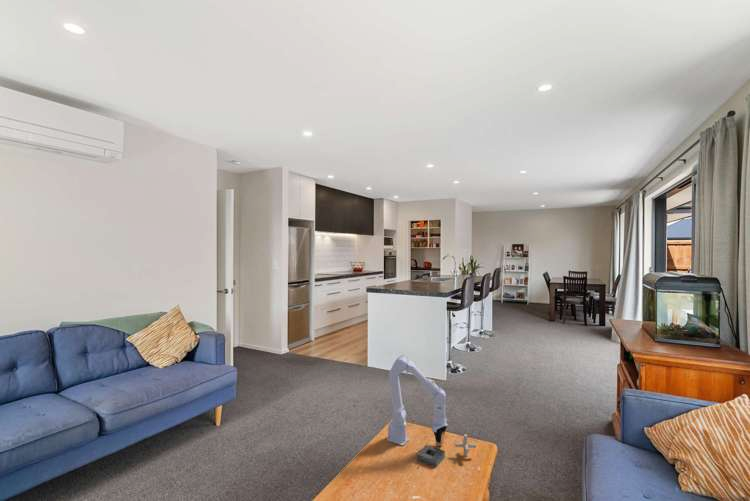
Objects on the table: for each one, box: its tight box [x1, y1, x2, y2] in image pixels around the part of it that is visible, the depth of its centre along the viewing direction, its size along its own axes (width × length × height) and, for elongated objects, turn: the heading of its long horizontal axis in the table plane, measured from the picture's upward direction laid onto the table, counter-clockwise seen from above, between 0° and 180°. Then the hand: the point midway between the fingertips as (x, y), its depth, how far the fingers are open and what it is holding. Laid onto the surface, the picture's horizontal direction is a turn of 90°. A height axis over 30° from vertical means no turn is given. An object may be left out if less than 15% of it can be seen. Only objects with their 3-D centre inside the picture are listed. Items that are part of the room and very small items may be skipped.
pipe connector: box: [454, 433, 477, 458], centre depth 174 cm, size 10×10×10 cm
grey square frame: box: [416, 444, 446, 468], centre depth 171 cm, size 10×10×3 cm
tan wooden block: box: [435, 432, 445, 447], centre depth 183 cm, size 3×3×6 cm
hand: (439, 440), depth 183 cm, fingers closed on tan wooden block, 3 cm apart
